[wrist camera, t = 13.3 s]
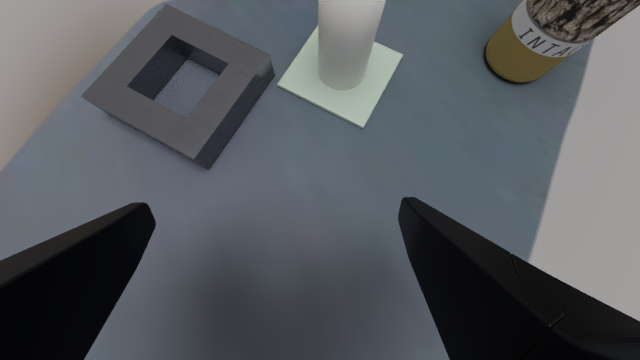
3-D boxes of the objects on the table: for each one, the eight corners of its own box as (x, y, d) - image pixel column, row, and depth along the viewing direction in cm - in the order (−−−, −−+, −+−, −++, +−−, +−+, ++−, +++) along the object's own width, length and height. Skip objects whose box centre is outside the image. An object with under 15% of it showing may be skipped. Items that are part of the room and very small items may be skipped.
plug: (374, 74, 26) (434, -97, 13) (336, 98, 25) (357, -57, 12) (346, 42, 27) (374, -149, 14) (308, 64, 26) (300, -115, 13)
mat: (401, 57, 27) (403, 54, 26) (362, 129, 24) (363, 127, 24) (322, 21, 28) (322, 17, 27) (277, 86, 25) (277, 84, 25)
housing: (274, 75, 26) (269, 54, 23) (208, 169, 23) (193, 159, 20) (182, 29, 27) (166, 3, 24) (108, 113, 24) (80, 96, 21)
